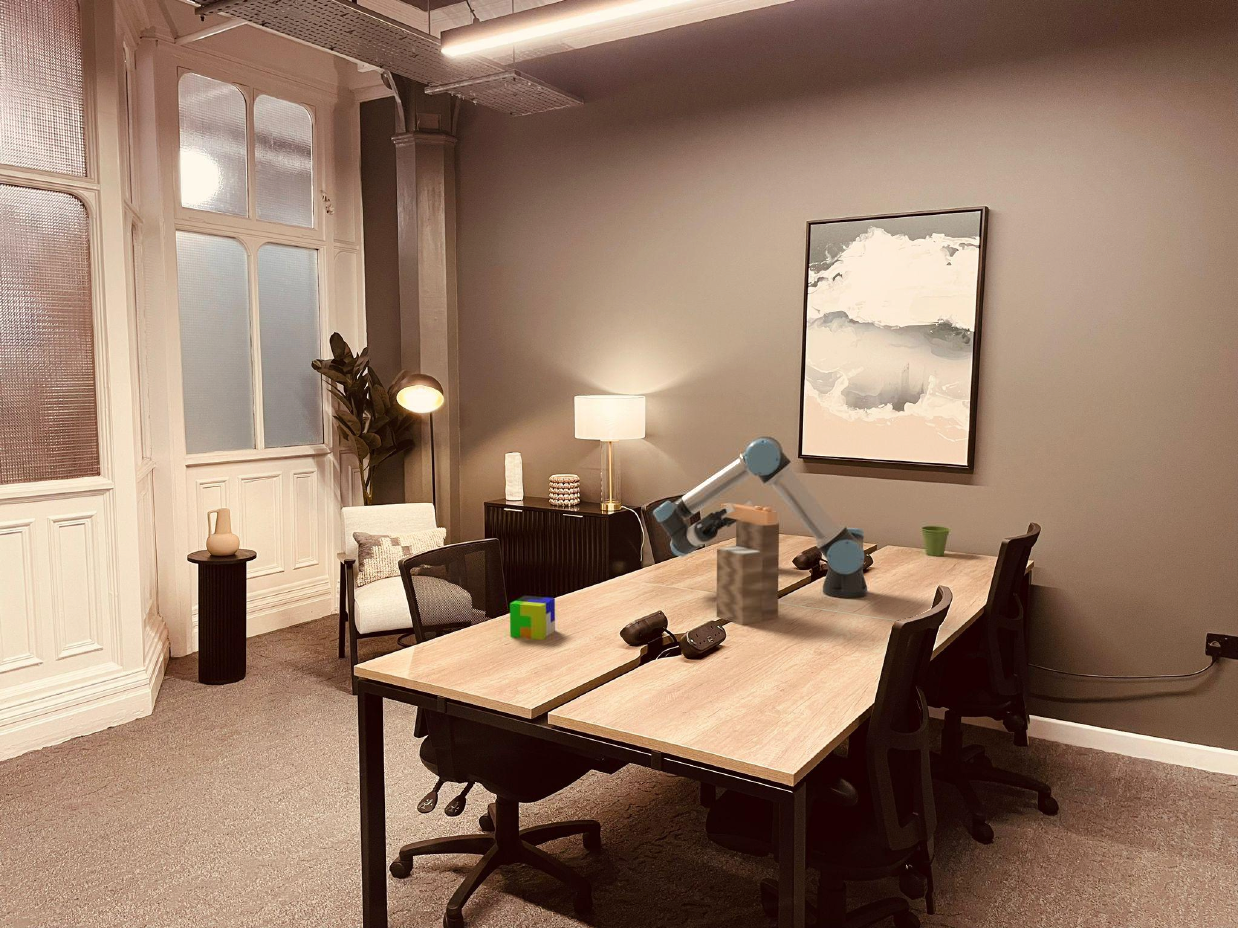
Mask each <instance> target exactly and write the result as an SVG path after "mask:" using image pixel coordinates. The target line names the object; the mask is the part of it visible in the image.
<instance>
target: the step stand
mask: <svg viewBox="0 0 1238 928" xmlns="http://www.w3.org/2000/svg"><path fill="white" fill-rule="evenodd" d="M735 526H736V528H735V529H736V531H735V538H736V539H735V545H731V546H725V547H719V548H716V617H717V618H719V619H723V620H724V621H729V622H732V623H735V624H738V625H741V626H745V625H750V624H754V623H759V622H763V621H769V620H773V619H778V618H779V568H780V567H779V566H780V565H779V561H780V559H779V558H780V554H779V550H780V523H779V522H777V524H775V525H762V524H757V523H752V522H747V521H742V520H736V522H735Z"/></svg>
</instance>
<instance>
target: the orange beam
mask: <svg viewBox="0 0 1238 928" xmlns="http://www.w3.org/2000/svg"><path fill="white" fill-rule="evenodd" d="M730 503H731V502H728V503H727V502H726V503H721V504H720V510H721V509H722V508H724V507H725V506H727V505H728V504H730ZM733 505H734V507H735V511H734V512H732V513H731V514H729V515H728V516H726V517H727V518H732V519H737V520H742V521H747V522H752V523H757V524H762V525H775V524H777V523H778V522H777V521H778V511H776V510H772V507H767V506H765V507H763V505H756V506H755V505H754V507H749V506H744V504H739V503H738V504H737V503H733Z"/></svg>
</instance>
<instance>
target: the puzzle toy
mask: <svg viewBox="0 0 1238 928" xmlns="http://www.w3.org/2000/svg"><path fill="white" fill-rule="evenodd" d="M555 601H556V599H555V597H545V596H534V595H522V596H520V597H519V598H518V599H516V600H514V601H512V602H510V603H509V627H510V634H509V636H510V638H521V639H529V640H530V639H531V640H538V641H539V640H540V641H542V640H544V639H545V638H546V637H548V636H549V635H551V634H552V633H554V632H555V631H556V602H555Z"/></svg>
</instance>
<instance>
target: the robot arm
mask: <svg viewBox="0 0 1238 928" xmlns="http://www.w3.org/2000/svg"><path fill="white" fill-rule="evenodd" d="M792 465H793V464H792V461H791V459H790V458H789V457H788V455H786V454H785V453H784V451H783V448H782V445H781V444H780V442H779V441H778V440H777V439H776V438H773V437H772V436H761V437H758V438H756V439H754V440H753V441H751V443H749V444H748V445H747V447H746V449H745V450H743V451H742V452H740V453H739V457H738V458H737V459H735V460H733V462H731V463H730V464H728V465H727V466H725V467H724V468H722V469H721V470H720V471H718V472H716V473H714V474H713V475H712V476H710V477H709V478H708V479H706V480H704V481H703V482H702V483H700V484H699V485H697V486H696V487H694V488H693V489H692V490H690V491H688V493H686V494H684V495H682V496H681V497H680V498H678V499H677V500H676V501H674V502H671V501H670V500H666V501H665V502H663V503H662V504H660V505H659V506H658V507H656V508H655V509H654V510H653V512H652V514H653V516H654V517H655V519H656V521H657V522H658V523H659V524H660V526H661V527H662V529H663V530H664V531H665V532H666V534H667V536H668V537H669V538H670V539H671V540H670V543H669V546H670V550H671V552H672V553H673V554H674V555H675V556H677V557H685V556H687V555H688V554H691V553H693V552H695V551H696V550H698V549H699V548H703V547H704V545H705V544H706V543H708V542H710V541H711V540H713V539H715V538H716V537H717V536H718V532H719V530H722V529H723V528H725V527H727V528H730V527H732V525H734V524H736V520H737V519H732V518H727V517H726V516H728V515H729V514H731V513H732V512H734V511H735V507H734V505H733V504H734V503H733V502H729V503H730V504H728V505H727V506H725V507H724V508H722V509H721V508H720V510H719V511H715V512H710V513H709V514H707V515H706V516H705V517H704V518H701V519H700V520H698V521H697V522H695V523H694V524H692V525H691V526H689V524H688V523H687V522H686V520H687V519H690V518H691V517H692V516H694V515H695V514H696V513H698V512H700V511H701V510H702V509H704V508H705V507H707V506H708V505H710V504H712V503H713V502H715V500H717V499H718V498H720V497H722V496H724V494H726V493H728V492H729V491H731V490H732V489H734V488H735V487H737V486H738V485H739V484H741V483H742V482H744V481H746V480H747V479H748V478H750V477H751V476H752V477H757V478H759V479H760V481H761V482H762V483H763V485H768V486H771V487H772V488H773V490H774V491H775V492H776V493H777V494H778V495H779V496H780V498H781V499H782V500H783V501H784V503H785V504H786V506H788V507H789V509H790V510H791V511H792V512H793V513H794V515H795V516H796V517H797V518H798V519H799V521H801V523H802V524H803V526H805V527H806V529H807V530H808V532H810V534H811V535H812V536H813V537H814V538H815V540H816V541H817V542H816V548H817V550H819V553H821V554H822V556H823V557H824V558H825V559H826V561H827V565H828V566H827V567H828V569H827V573H826V576H825V579H824V581H823V583H822V593H823V594H825V595H826V596H829V597H830V596H831V597H835V598H844V599H845V598H847V599H854V598H856V599H858V598H863V597H865V596H867V595H868V585H867V582H866V578H865V576H864V571H863V569H864V568H863V566H864V561H865V552H864V539H865V535H864V530H863V529H862V528H859V527H858V528H857V527H846V526H845V525H844V524H843V525H842V524H838V523H837V522H836V521H835V519H834V518H833V517H832V516H831V515H830V514H829V512H828V510H826V509H825V508H824V506H823V505H822V504H821V503H820V501H819V500H818V499H817V498H816V496H814V495H813V493H812V492H811V491H810V490H809V489H808V487H807V486H806V485H805V484H804V482H803V481H801V479H800V477H798V476H797V474H796V472H794V471H793V469H792ZM743 505H744V506H749V507H755V505H754V502H753V500H749V501H747V502H746V503H744V504H743Z"/></svg>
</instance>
